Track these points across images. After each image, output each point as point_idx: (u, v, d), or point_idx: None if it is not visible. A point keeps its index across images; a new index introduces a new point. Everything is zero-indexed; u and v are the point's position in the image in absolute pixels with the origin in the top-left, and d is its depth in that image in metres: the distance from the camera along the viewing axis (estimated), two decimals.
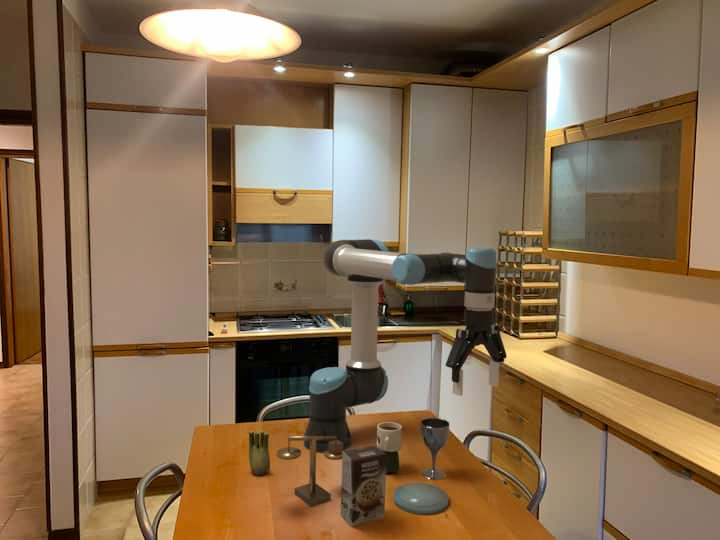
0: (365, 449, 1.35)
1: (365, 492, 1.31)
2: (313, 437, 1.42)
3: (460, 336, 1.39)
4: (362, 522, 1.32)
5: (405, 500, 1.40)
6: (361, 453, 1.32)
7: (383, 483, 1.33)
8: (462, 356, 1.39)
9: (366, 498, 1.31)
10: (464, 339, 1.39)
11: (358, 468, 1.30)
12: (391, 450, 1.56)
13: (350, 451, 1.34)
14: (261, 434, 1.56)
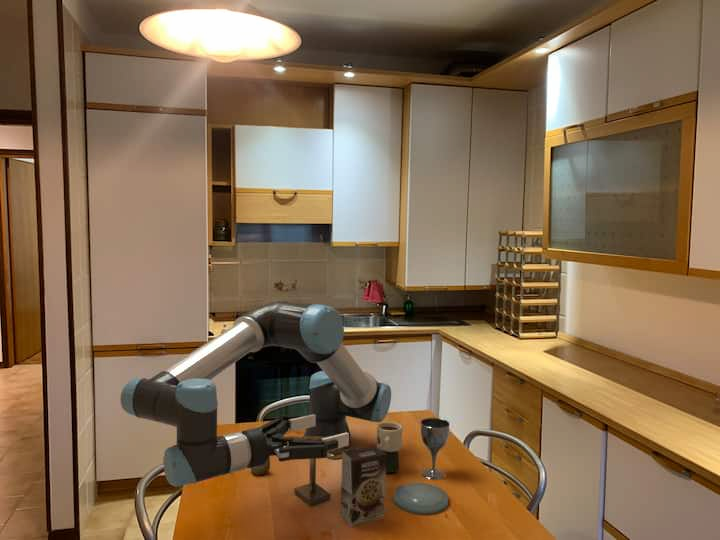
0: (365, 449, 1.35)
1: (365, 492, 1.31)
2: (313, 437, 1.42)
3: None
4: (362, 522, 1.32)
5: (405, 500, 1.40)
6: (361, 453, 1.32)
7: (383, 483, 1.33)
8: None
9: (366, 498, 1.31)
10: None
11: (358, 468, 1.30)
12: (391, 450, 1.56)
13: (350, 451, 1.34)
14: None
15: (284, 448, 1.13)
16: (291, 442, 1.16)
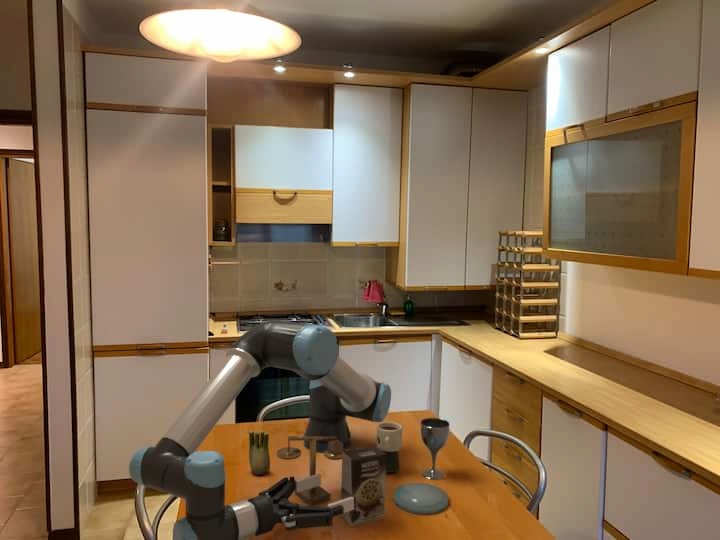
0: (365, 449, 1.35)
1: (365, 492, 1.31)
2: (313, 437, 1.42)
3: None
4: (362, 522, 1.32)
5: (405, 500, 1.40)
6: (361, 453, 1.32)
7: (383, 483, 1.33)
8: None
9: (366, 498, 1.31)
10: None
11: (358, 468, 1.30)
12: (391, 450, 1.56)
13: (350, 451, 1.34)
14: (261, 434, 1.56)
15: (290, 517, 1.15)
16: (298, 509, 1.19)
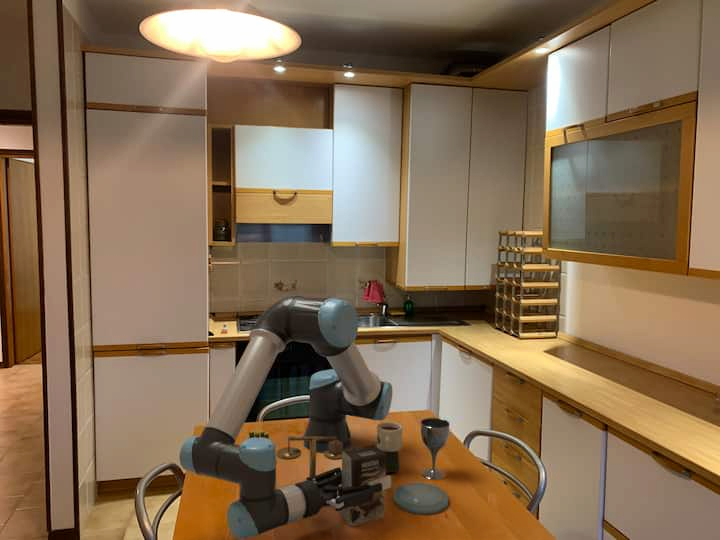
0: (365, 449, 1.35)
1: None
2: (313, 437, 1.42)
3: None
4: (362, 522, 1.32)
5: (405, 500, 1.40)
6: (361, 453, 1.32)
7: None
8: None
9: None
10: None
11: (358, 467, 1.30)
12: (391, 450, 1.56)
13: (350, 451, 1.34)
14: (261, 434, 1.56)
15: (340, 498, 1.23)
16: (342, 490, 1.27)
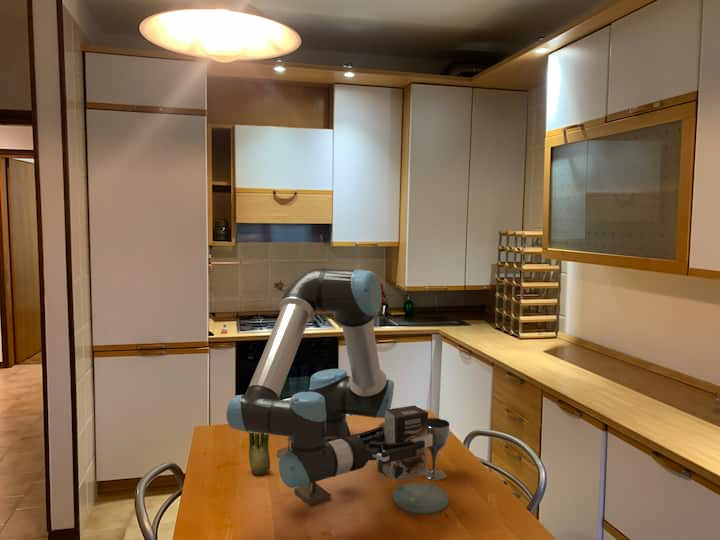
0: (407, 408, 1.39)
1: None
2: None
3: None
4: (405, 478, 1.36)
5: (405, 500, 1.40)
6: (403, 412, 1.36)
7: None
8: None
9: None
10: None
11: (402, 425, 1.34)
12: None
13: (392, 410, 1.38)
14: (261, 434, 1.56)
15: (386, 452, 1.27)
16: (387, 445, 1.31)
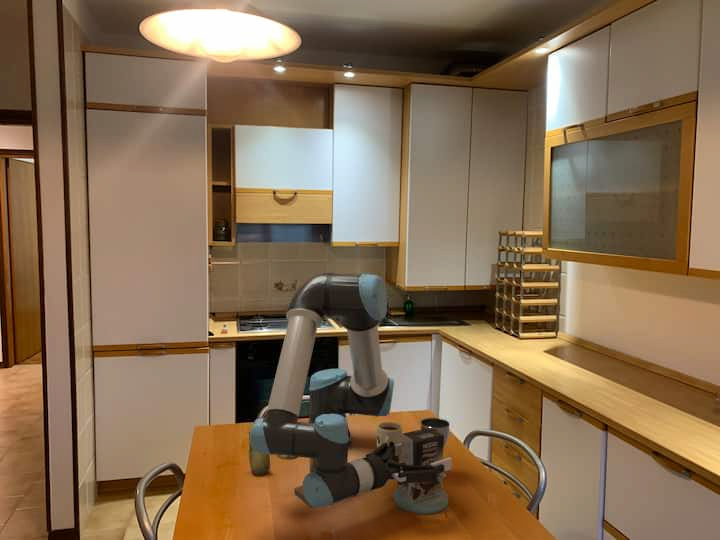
0: (423, 431, 1.44)
1: None
2: None
3: None
4: (422, 500, 1.40)
5: (405, 500, 1.40)
6: (421, 435, 1.41)
7: None
8: None
9: None
10: None
11: (420, 448, 1.38)
12: None
13: (409, 433, 1.42)
14: None
15: (402, 473, 1.30)
16: (405, 467, 1.34)
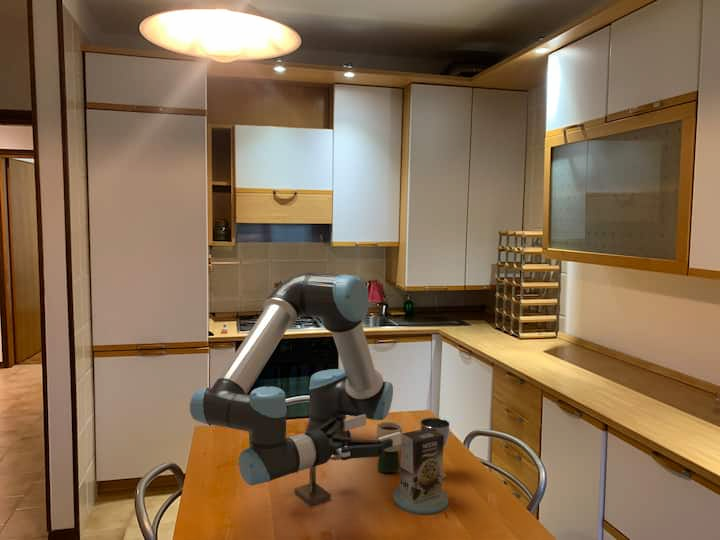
0: (423, 431, 1.44)
1: (425, 471, 1.39)
2: None
3: None
4: (422, 500, 1.40)
5: (405, 500, 1.40)
6: (420, 435, 1.41)
7: (440, 463, 1.42)
8: None
9: (426, 477, 1.40)
10: None
11: (420, 448, 1.38)
12: (391, 450, 1.56)
13: (409, 433, 1.42)
14: None
15: (346, 448, 1.23)
16: (351, 441, 1.27)
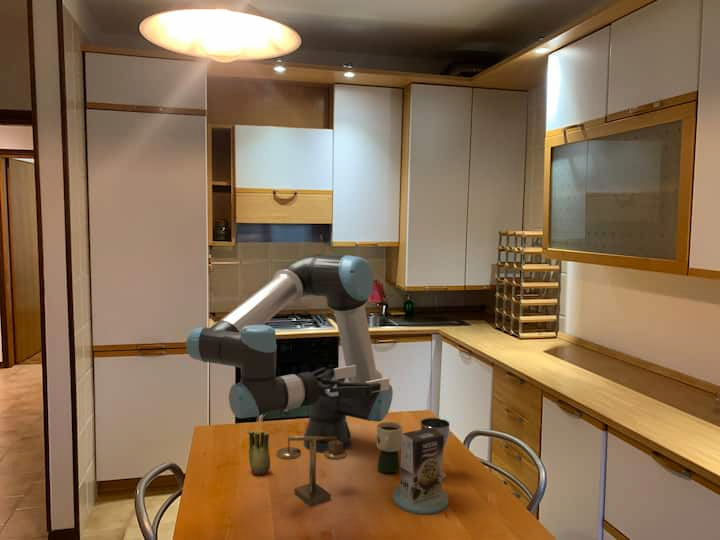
0: (422, 431, 1.44)
1: (425, 471, 1.39)
2: (313, 437, 1.42)
3: None
4: (422, 500, 1.40)
5: (405, 500, 1.40)
6: (420, 435, 1.41)
7: (440, 463, 1.42)
8: None
9: (426, 477, 1.40)
10: None
11: (420, 448, 1.38)
12: (391, 450, 1.56)
13: (409, 433, 1.42)
14: (261, 434, 1.56)
15: (334, 388, 1.26)
16: (339, 384, 1.30)
